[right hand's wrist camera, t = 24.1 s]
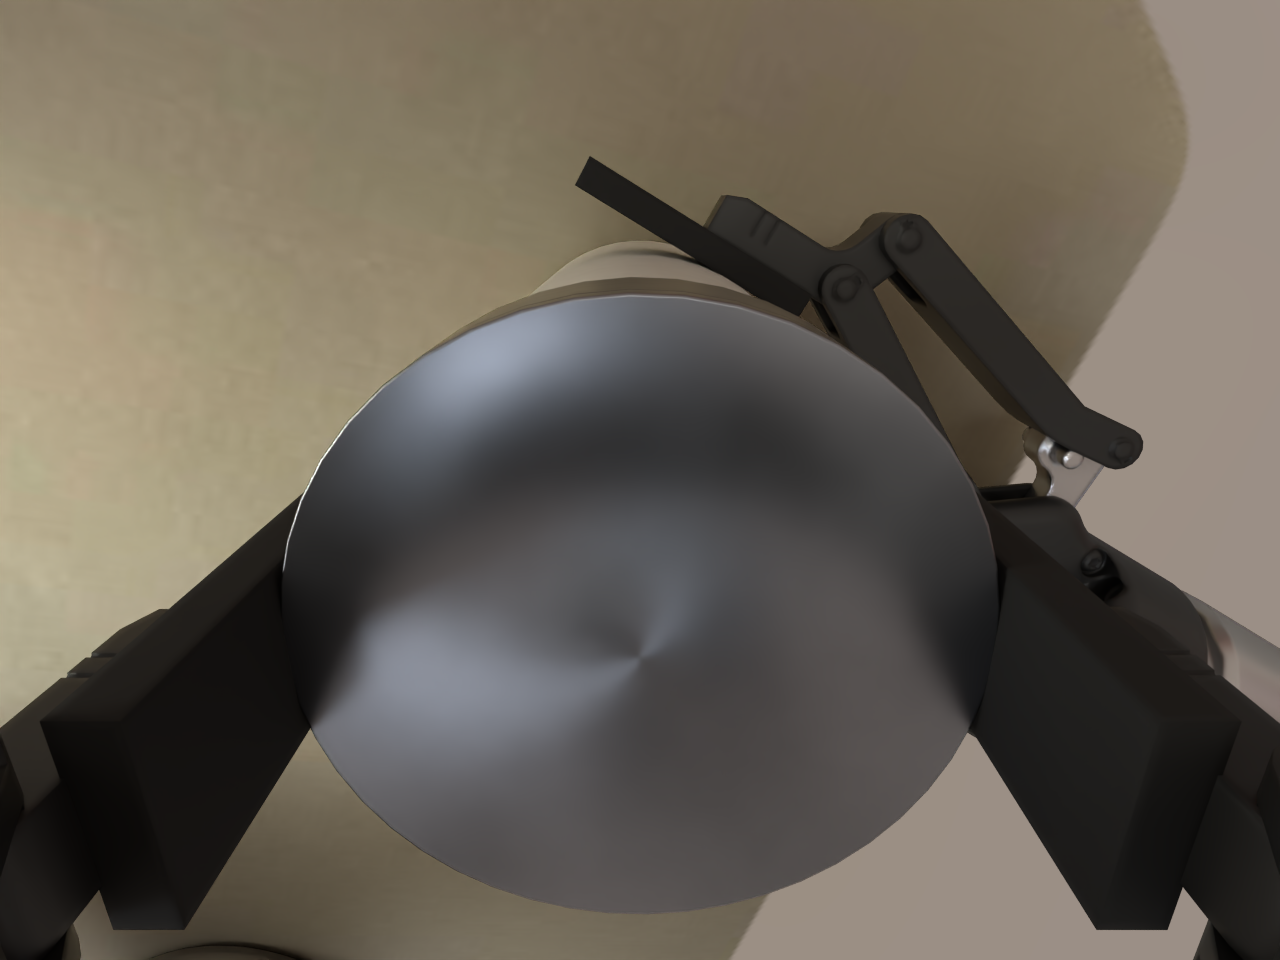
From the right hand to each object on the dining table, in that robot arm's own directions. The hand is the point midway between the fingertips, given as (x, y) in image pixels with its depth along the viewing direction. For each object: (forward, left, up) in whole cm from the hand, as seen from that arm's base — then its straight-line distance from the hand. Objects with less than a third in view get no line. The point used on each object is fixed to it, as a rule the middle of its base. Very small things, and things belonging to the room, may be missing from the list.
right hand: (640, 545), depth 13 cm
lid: (0, 0, +3) cm, 3 cm away
